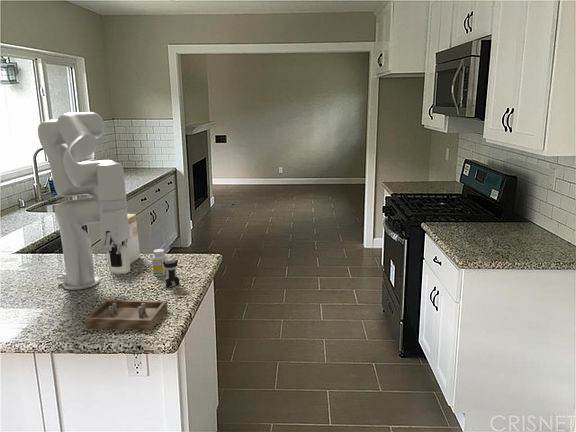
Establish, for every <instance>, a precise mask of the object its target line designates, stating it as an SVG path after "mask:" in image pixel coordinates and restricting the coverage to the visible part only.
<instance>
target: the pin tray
mask: <svg viewBox="0 0 576 432" xmlns="http://www.w3.org/2000/svg"><path fill="white" fill-rule="evenodd" d="M167 302H168V301H167V300H163V301H162V300H124V299H123V300H120V299H112V300H111V299H106V300H104V301H103V303H102V304H100V305H99V306H98V307H97V308H96V309H94V311H92V312H91V313H89V314H88V316H87V317H86V318H84V319H85V322H84V323H85V329H102V330H106V329H107V330H139V331H140V330H144V331H146V330H147V331H152V330H153V329H154V328H155V326H157V323H159V322H160V320H161V318H162V317H163V316H164V315H165V314H166V312H167V311H168V303H167Z"/></svg>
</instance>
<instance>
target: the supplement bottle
mask: <svg viewBox="0 0 576 432" xmlns="http://www.w3.org/2000/svg"><path fill="white" fill-rule="evenodd" d="M165 259H167V255H166V254H165V250H164V249H162V248H157V249H154V250H153V256H152V258H151V260H152V273H153V275H154V276H155V277H162V276H166V267H164V264H163V262H164V261H165Z"/></svg>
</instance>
